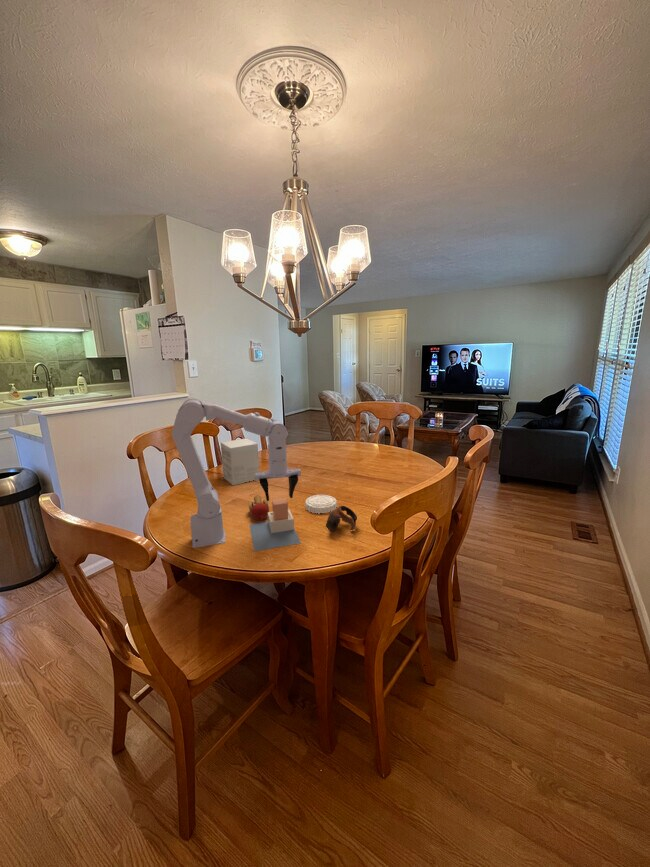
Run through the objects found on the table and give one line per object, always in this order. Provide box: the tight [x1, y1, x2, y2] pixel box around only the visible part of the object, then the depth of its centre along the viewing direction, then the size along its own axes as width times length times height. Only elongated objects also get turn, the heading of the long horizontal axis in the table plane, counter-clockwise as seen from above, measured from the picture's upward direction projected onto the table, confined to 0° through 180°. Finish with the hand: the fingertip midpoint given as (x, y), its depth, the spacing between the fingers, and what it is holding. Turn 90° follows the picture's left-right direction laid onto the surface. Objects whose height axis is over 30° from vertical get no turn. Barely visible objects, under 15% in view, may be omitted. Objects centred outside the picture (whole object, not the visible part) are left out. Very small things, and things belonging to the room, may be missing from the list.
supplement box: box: [220, 438, 260, 486], centre depth 157 cm, size 13×13×18 cm
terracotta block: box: [271, 497, 289, 521], centre depth 112 cm, size 4×4×6 cm
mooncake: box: [304, 494, 338, 515], centre depth 127 cm, size 12×12×4 cm
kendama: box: [248, 494, 270, 521], centre depth 124 cm, size 8×6×18 cm
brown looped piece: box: [325, 505, 358, 532], centre depth 111 cm, size 12×10×8 cm
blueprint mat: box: [249, 521, 301, 552], centre depth 109 cm, size 14×17×1 cm
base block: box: [267, 508, 295, 533], centre depth 113 cm, size 8×8×4 cm
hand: (279, 498), depth 111 cm, fingers open, 7 cm apart
